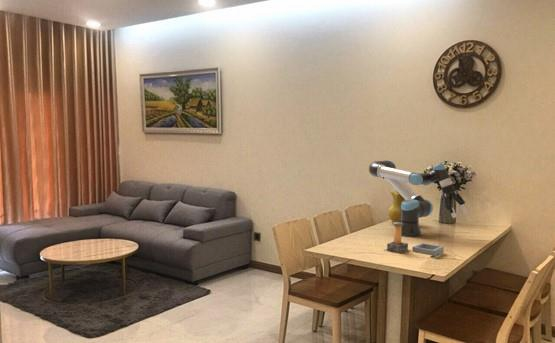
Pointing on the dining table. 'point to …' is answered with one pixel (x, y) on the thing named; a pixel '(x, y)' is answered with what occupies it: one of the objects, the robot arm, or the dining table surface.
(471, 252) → the dining table surface
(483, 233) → the dining table surface
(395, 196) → the pitcher
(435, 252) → the tray
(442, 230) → the dining table surface
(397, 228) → the lock pin
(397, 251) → the grey square socket
